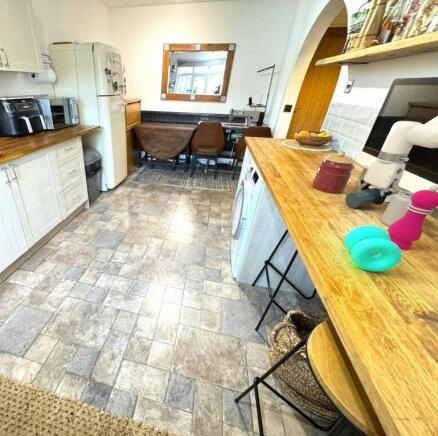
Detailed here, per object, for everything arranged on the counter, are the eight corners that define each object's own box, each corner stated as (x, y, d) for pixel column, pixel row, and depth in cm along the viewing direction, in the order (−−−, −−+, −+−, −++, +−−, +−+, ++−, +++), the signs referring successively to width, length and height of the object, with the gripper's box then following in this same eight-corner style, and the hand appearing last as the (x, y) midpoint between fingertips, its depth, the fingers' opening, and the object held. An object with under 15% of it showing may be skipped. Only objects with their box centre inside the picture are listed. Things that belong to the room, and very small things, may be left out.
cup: (343, 203, 101) (365, 198, 101) (356, 210, 95) (380, 205, 96) (347, 189, 97) (370, 185, 98) (361, 196, 92) (386, 191, 92)
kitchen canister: (340, 185, 118) (356, 150, 109) (346, 195, 108) (365, 157, 99) (310, 181, 122) (323, 146, 113) (313, 190, 112) (328, 153, 103)
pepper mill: (383, 245, 75) (420, 187, 65) (379, 235, 80) (414, 179, 70) (414, 253, 72) (459, 193, 62) (408, 242, 77) (449, 184, 67)
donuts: (377, 256, 71) (395, 227, 66) (391, 278, 63) (413, 248, 58) (337, 247, 74) (351, 220, 69) (345, 267, 66) (362, 238, 61)
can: (403, 222, 88) (422, 192, 82) (409, 232, 82) (431, 201, 76) (377, 217, 91) (394, 188, 85) (381, 226, 85) (400, 195, 79)
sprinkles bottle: (365, 192, 111) (380, 164, 104) (362, 195, 108) (377, 166, 102) (354, 189, 114) (367, 162, 107) (350, 191, 112) (364, 163, 105)
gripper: (426, 163, 82) (399, 209, 91) (378, 150, 97) (359, 191, 105) (407, 164, 81) (381, 210, 90) (361, 151, 96) (343, 192, 105)
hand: (369, 200), depth 98 cm, fingers closed on cup, 6 cm apart
